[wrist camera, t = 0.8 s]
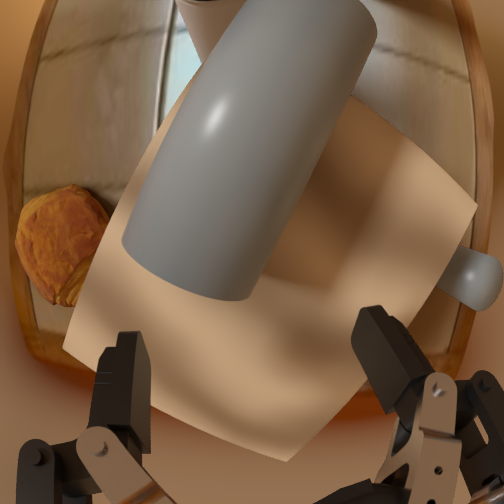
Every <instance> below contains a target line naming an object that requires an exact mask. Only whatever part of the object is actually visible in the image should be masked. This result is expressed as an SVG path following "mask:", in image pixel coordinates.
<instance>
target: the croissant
mask: <svg viewBox="0 0 504 504" xmlns="http://www.w3.org/2000/svg"><path fill="white" fill-rule="evenodd" d="M109 222H110V219H109V217H108V215H107V213H106V212H105V210H104V209H103V207H102V206H101V204H100V203H99V202H98V201H97V200H96V199H95V198H94V197H92V196H91V194H90V192H88V191H87V190H85V189H82V188H81V187H80V186H78V185H75V184H72V185H69V186H67V187H65V188H57V189H56V190H54V191H52V192H50V193H47V194H43V195H41V196H37V197H35V198H33V199H32V200H30V201H29V202H28V203H27V204H26V205H25V206H24V207H23V209H22V211H21V217H20V219H19V223H18V231H17V236H16V239H15V245H16V248H17V251H18V255H19V257H20V260H21V263H22V266H23V268H24V270H25V272H26V273H27V275H28V277H29V278H30V280H31V281H32V282H33V284H34V285H35V287H36V288H37V290H38V292H39V293H40V294H41V295H42V296H43V298H45V299H46V300H47V301H48V302H50V303H51V304H52V305H55V304H59V305H62V306H64V307H75V306H76V303H77V301H78V298H79V295H80V292H81V289H82V287H83V284H84V281H85V279H86V276H87V273H88V271H89V268H90V266H91V263H92V261H93V258H94V256H95V254H96V251H97V249H98V246H99V244H100V242H101V239H102V237H103V235H104V233H105V230H106V228H107V226H108V224H109Z"/></svg>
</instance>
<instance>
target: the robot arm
mask: <svg viewBox="0 0 504 504" xmlns="http://www.w3.org/2000/svg"><path fill="white" fill-rule="evenodd" d="M351 345H352V348H353V351H354V353H355V355H356V357H357V358H358V360H359V362H360V364H361V366H362V368H363V370H364V372H365V374H366V376H367V378H368V380H369V382H370V384H371V386H372V388H373V390H374V392H375V394H376V396H377V398H378V400H379V402H380V404H381V406H382V408H383V410H384V412H385V414H386V415H387V414H390V413H392V412H395V411H396V412H397V414H398V417H397V418H396V421H395V425H394V429H393V433H392V437H391V441H390V445H389V449H388V453H387V456H386V459H385V461H384V463H383V465H382V466H381V468H380V470H379V471H378V474H377V476H376V478H375V481H374V483H371V480H370V479H367V480H364V481H361V482H358V483H356V484H353V485H350V486H347V487H344V488H340V489H339V490H337V491H335V492H334V493H332V494H330V495H328V496H327V497H325V498H323V499H321V500H319V501H317V502H315V503H313V504H452V503H453V498H454V494H455V488H456V483H457V477H458V471H459V468H460V470H461V472H462V474H463V477H464V480H465V482H466V485H467V487H468V490H469V493H470V495H471V500H470V503H468V504H504V391H503V389H502V388H501V386H500V384H499V383H498V381H497V380H496V378H495V377H494V376H493V375H492V374H491V373H490V372H488V371H484V370H480V371H477V372H476V373H475V374H474V375H473V377H472V378H471V379H470V380H457V381H453V379H452V378H451V377H450V376H448V375H446V374H444V373H440V372H435V370H434V369H433V368H432V366H431V365H430V363H429V361H428V360H427V358H426V357H425V355H424V354H423V352H422V351H421V349H420V348H419V346H418V345H417V343H415V341H414V339H413V338H412V336H411V335H409V332H408V330H407V329H406V327H405V326H404V325H403V323H402V322H400V321H399V320H398V319H396V318H395V317H394V316H389V315H388V313H387V312H386V311H385V309H384V308H383V307H382V306H381V305H374V306H368V307H362V308H361V309H360V311H359V314H358V317H357V320H356V323H355V326H354V328H353V331H352V334H351ZM150 406H151V363H150V358H149V355H148V352H147V349H146V346H145V343H144V340H143V336H142V333H141V331H120V332H119V333H118V336H117V342H116V347H106V348H105V350H104V351H103V353H102V354H101V356H100V357H99V360H98V365H97V374H96V376H95V384H94V388H93V395H92V401H91V408H90V417H89V423H88V426H87V428H86V430H85V431H83V432H82V433H81V434H80V436H79V437H78V438H77V439H75V440H73V441H70V442H66V443H61V444H56V445H51V446H50V445H48V444H47V443H46V442H45V441H42V440H40V439H32V440H29V441H27V442H26V443H25V444H24V445H23V446H22V448H21V449H20V452H19V459H18V469H17V484H16V504H92V494H96V493H101V492H103V493H104V494H105V496H106V497H107V498H108V499H109V501H110V502H111V503H112V504H177V503H176V502H175V501H174V500H173V499H172V498H171V497H170V496H169V495H168V494H167V493H166V492H165V491H164V490H163V489H162V488H161V487H160V485H158V483H157V482H156V481H155V480H154V479H153V478H152V477H151V476H150V474H149V473H148V472H147V471H146V470H145V469H144V468H143V467H142V454H150V453H151V440H150V408H151V407H150ZM477 415H478V417H479V419H480V421H481V423H482V425H483V427H484V429H485V430H486V433H487V434H488V438H489V441H488V444H486V443H485V441H484V439H483V438H482V435H481V433H480V431H479V429H478V427H477V425H476V423H475V421H474V418H475V417H476V416H477Z"/></svg>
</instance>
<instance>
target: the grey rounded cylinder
mask: <svg viewBox="0 0 504 504" xmlns="http://www.w3.org/2000/svg"><path fill="white" fill-rule="evenodd" d="M502 284H503V268H502V265H501V263H500V261H499V260H498V259H497V258H495V257H493V256H490V255H487V254H484V253H481V252H478V251H475V250H472V249H469V248H466V247H463V246H460V245H458V247H457V249H456V250H455V252H454V254H453V256H452V258H451V260H450V261H449V263H448V265H447V267H446V268H445V270H444V272H443V273H442V275H441V277H440V278H439V280H438V282H437V283H436V285H435V287H437V288H438V289H440V290H442V291H443V292H445V293H447V294H449V295H450V296H452V297H454V298H455V299H457V300H458V301H460V302H462V303H463V304H465V305H467V306H468V307H470V308H472V309H473V310H475V311H483V310H486V309H487V308H489V307H490V306H491V305H492V304H493V303H494V302H495V300H496V299H497V297H498V295H499V293H500V291H501V287H502Z"/></svg>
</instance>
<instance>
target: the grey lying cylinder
mask: <svg viewBox="0 0 504 504" xmlns="http://www.w3.org/2000/svg"><path fill="white" fill-rule="evenodd" d="M376 38H377V28H376V24H375V21H374V19H373V17H372V15H371V14H370V12H369V11H368V10H367V8H366V7H365V6H364V5H363V4H362V3H361V2H360V1H359V0H247V1H246V2H245V4H244V5H243V6H242V8H241V9H240V10H239V12H238V13H237V15H236V16H235V18H234V19H233V20H232V22H231V23H230V25H229V26H228V28H227V29H226V31H225V32H224V34H223V35H222V37H221V38H220V40H219V41H218V43H217V45H216V46H215V48H214V49H213V51H212V52H211V54H210V56H209V57H208V59H207V61H206V62H205V64H204V66H203V67H202V69H201V71H200V72H199V74H198V76H197V77H196V79H195V81H194V83H193V84H192V86H191V88H190V90H189V91H188V93H187V95H186V97H185V99H184V100H183V102H182V104H181V106H180V108H179V110H178V112H177V114H176V115H175V117H174V119H173V121H172V123H171V125H170V127H169V129H168V131H167V133H166V135H165V137H164V139H163V141H162V143H161V145H160V148H159V150H158V152H157V154H156V156H155V158H154V160H153V163H152V165H151V167H150V169H149V171H148V174H147V176H146V178H145V180H144V183H143V185H142V187H141V190H140V192H139V195H138V197H137V199H136V202H135V204H134V207H133V209H132V212H131V214H130V217H129V219H128V222H127V225H126V227H125V230H124V233H123V235H122V239H121V242H122V245H123V247H124V249H125V250H126V252H127V253H128V254H129V255H130V256H131V257H132V258H133V259H134V260H135V261H136V262H137V263H138V264H140V265H141V266H142V267H144V268H145V269H146V270H148V271H149V272H151V273H152V274H154V275H156V276H157V277H159V278H161V279H163V280H164V281H166V282H168V283H170V284H172V285H175V286H177V287H179V288H181V289H184V290H186V291H189V292H192V293H194V294H197V295H201V296H204V297H208V298H212V299H216V300H222V301H242V300H245V299H247V298H249V297H250V295H251V293H252V291H253V289H254V287H255V285H256V283H257V281H258V279H259V277H260V275H261V274H262V272H263V270H264V268H265V266H266V264H267V262H268V260H269V258H270V256H271V254H272V252H273V250H274V248H275V246H276V244H277V242H278V240H279V238H280V236H281V234H282V232H283V231H284V229H285V227H286V225H287V223H288V221H289V219H290V217H291V215H292V213H293V211H294V209H295V207H296V205H297V203H298V201H299V199H300V197H301V195H302V193H303V191H304V189H305V187H306V185H307V183H308V181H309V179H310V177H311V175H312V173H313V171H314V169H315V167H316V165H317V162H318V160H319V158H320V156H321V154H322V152H323V150H324V148H325V146H326V144H327V142H328V140H329V138H330V136H331V134H332V132H333V130H334V128H335V126H336V124H337V122H338V119H339V117H340V115H341V113H342V111H343V109H344V107H345V105H346V103H347V101H348V99H349V97H350V94H351V92H352V90H353V88H354V86H355V84H356V82H357V80H358V78H359V75H360V73H361V71H362V69H363V67H364V65H365V63H366V61H367V58H368V56H369V54H370V52H371V50H372V48H373V46H374V43H375V41H376Z"/></svg>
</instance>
